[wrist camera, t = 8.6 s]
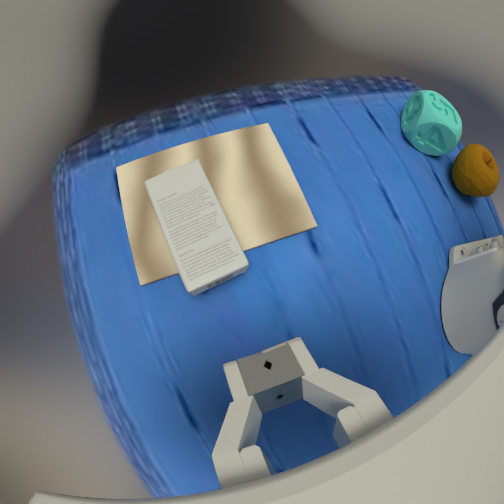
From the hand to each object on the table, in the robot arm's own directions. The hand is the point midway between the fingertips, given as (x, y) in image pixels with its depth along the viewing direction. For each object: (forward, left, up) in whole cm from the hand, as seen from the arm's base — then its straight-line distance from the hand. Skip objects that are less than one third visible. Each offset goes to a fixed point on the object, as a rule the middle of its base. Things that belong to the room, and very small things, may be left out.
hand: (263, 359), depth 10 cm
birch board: (-2, -15, -18) cm, 24 cm away
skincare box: (0, -5, -15) cm, 16 cm away
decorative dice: (-38, -17, -18) cm, 45 cm away
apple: (-42, -7, -18) cm, 46 cm away
